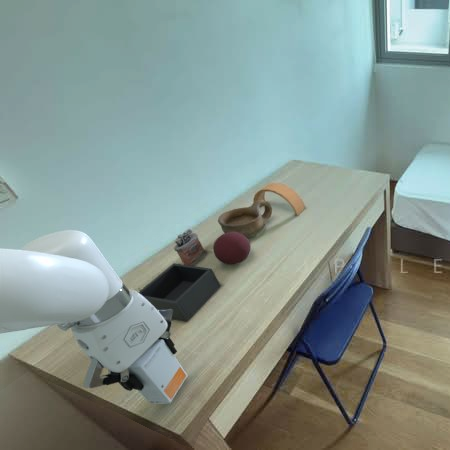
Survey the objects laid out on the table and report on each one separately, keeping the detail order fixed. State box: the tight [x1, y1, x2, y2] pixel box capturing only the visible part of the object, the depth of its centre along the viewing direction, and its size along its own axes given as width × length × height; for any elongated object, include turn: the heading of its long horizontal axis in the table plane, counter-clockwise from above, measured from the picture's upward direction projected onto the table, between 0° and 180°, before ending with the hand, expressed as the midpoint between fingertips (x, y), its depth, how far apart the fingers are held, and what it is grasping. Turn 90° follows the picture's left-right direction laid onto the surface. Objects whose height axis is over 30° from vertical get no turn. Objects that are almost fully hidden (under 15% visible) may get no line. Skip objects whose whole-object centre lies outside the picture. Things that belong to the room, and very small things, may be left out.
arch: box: [252, 182, 306, 217], centre depth 119 cm, size 6×20×10 cm, turn 71°
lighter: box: [173, 228, 207, 266], centre depth 95 cm, size 8×3×10 cm, turn 171°
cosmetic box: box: [128, 339, 189, 405], centre depth 59 cm, size 6×4×12 cm
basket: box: [137, 262, 222, 323], centre depth 82 cm, size 13×13×7 cm
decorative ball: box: [212, 232, 251, 266], centre depth 94 cm, size 10×10×10 cm
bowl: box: [217, 200, 273, 239], centre depth 108 cm, size 18×14×10 cm
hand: (153, 368), depth 58 cm, fingers closed on cosmetic box, 6 cm apart
